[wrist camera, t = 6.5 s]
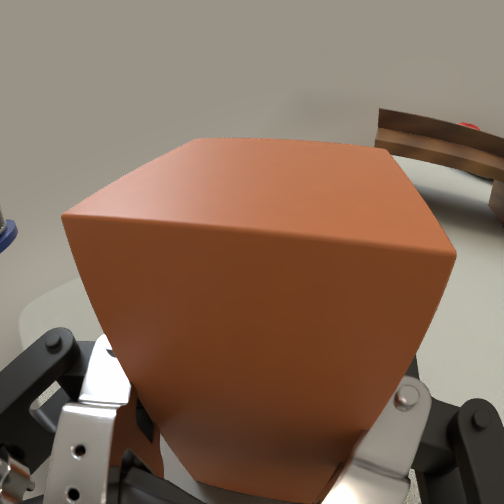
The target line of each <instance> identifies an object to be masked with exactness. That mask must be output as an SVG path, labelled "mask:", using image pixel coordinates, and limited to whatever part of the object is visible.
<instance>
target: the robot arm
mask: <svg viewBox="0 0 504 504" xmlns="http://www.w3.org/2000/svg"><path fill="white" fill-rule="evenodd" d="M6 230H7V224H6V221H5V219H4V217H3V213H2V210H1V207H0V237H1V236H2V235H3V234H4V233H5V231H6ZM55 381H57V382H58V384H59V385H60V386H61V388H60V389H59V390H58V391H57V392H56V393H55V394H53V395H52V396H51V397H50V398H49V399H48V400H47V401H46V402H45V403H44V404H43V405H42V406H41V407H40V408H38V409H36V410H32V409H30V405H31V404H32V402H33V401H34V400H35V399H37V398H38V397H39V396H40V395H41V394H42V393H43V392H44V391H45V390H46V389H47V388H48V387H49V386H50V385H51V384H52V383H54V382H55ZM50 455H51V457H50V462H49V468H48V473H47V479H46V486H45V492H44V494H43V495H40V496H37V497H34V498H31V499H27V500H24V501H22V499H23V495H24V492H25V491H26V490H27V491H33V490H34V488H35V481H34V480H33V478H31V477H30V476H31V475H32V474H33V473H34V472H35V471H36V470H37V469H38V468H39V466H40V465H41V464H42V463H43V462H44V461H45V460H46V459H47V458H48V457H49V456H50ZM410 468H411V469H414V470H415V474H416V479H417V484H418V488H419V493H420V498H421V503H422V504H504V427H503V424H502V422H501V419H500V417H499V415H498V412H497V410H496V409H495V407H494V406H493V405H492V404H491V403H489V402H488V401H486V400H484V399H479V398H474V399H471V400H468V401H467V402H465V403H464V404H463V405H462V406H461V407H458V406H454V405H451V404H448V403H445V402H441V401H439V400H436V399H435V398H433V397H432V396H431V394H430V391H429V390H428V388H427V386H426V385H425V384H424V383H423V382H421V381H420V379H419V373H418V366H417V359H416V354H415V356H414V358H413V360H412V362H411V364H410V366H409V367H408V369H407V371H406V373H405V375H404V376H403V378H402V380H401V382H400V383H399V385H398V387H397V389H396V390H395V392H394V394H393V395H392V397H391V399H390V400H389V402H388V403H387V405H386V407H385V408H384V410H383V411H382V413H381V414H380V416H379V417H378V419H377V420H376V422H375V423H374V425H373V426H372V428H371V429H369V430H364V429H363V430H362V431H361V433H360V434H359V436H358V437H357V439H356V441H355V443H354V444H353V446H352V448H351V450H350V452H349V454H348V456H347V457H346V459H345V461H344V462H340V463H339V464H338V466H337V467H336V469H335V470H334V472H333V474H332V475H331V477H330V478H329V480H328V482H327V483H326V485H325V486H324V488H323V489H322V491H321V492H320V493H319V495H318V496H317V498H316V499H315V500H314V502H313V503H312V504H404V501H405V499H406V497H407V495H408V492H409V489H410V484H411V480H410V479H409V478H408V473H409V470H410ZM0 504H206V503H204V502H202V501H201V500H199V499H197V498H195V497H194V496H192V495H190V494H189V493H187V492H185V491H184V490H182V489H181V488H179V487H177V486H176V485H174V484H173V483H171V482H170V481H168V480H165V479H164V466H163V460H162V456H161V453H160V428H159V427H158V425H157V424H156V422H153V421H152V420H151V418H150V416H149V415H148V413H147V412H146V410H145V408H144V407H143V405H142V403H141V402H140V400H139V398H138V392H137V390H136V388H135V387H134V385H133V383H132V382H131V381H129V380H128V379H127V377H126V375H125V373H124V372H123V370H122V368H121V366H120V364H119V362H118V360H117V358H116V356H115V354H114V352H113V350H112V348H111V346H110V344H109V342H108V340H107V338H106V336H105V334H103V335H102V336H101V337H100V338H99V339H98V340H97V341H96V342H89V341H76V340H75V338H74V336H73V334H72V332H71V331H70V330H68V329H66V328H54V329H52V330H49V331H48V332H46V333H45V334H44V335H42V336H41V337H40V338H39V339H38V340H36V341H35V342H34V343H33V344H32V345H31V346H29V347H28V348H27V349H26V350H25V351H24V352H22V353H21V354H20V355H19V356H18V357H17V358H16V359H14V360H13V361H12V362H11V363H10V364H9V365H8V366H7V367H5V368H4V369H3V370H2V371H1V372H0Z"/></svg>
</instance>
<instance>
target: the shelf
mask: <svg viewBox="0 0 504 504" xmlns="http://www.w3.org/2000/svg"><path fill="white" fill-rule="evenodd" d="M383 128H384V129H383ZM400 131H401V132H400ZM405 132H406V133H405ZM410 133H411V134H410ZM415 134H416V135H415ZM420 135H421V136H420ZM429 137H430V138H429ZM438 139H439V140H438ZM442 140H443V141H442ZM458 144H459V145H458ZM462 145H463V146H462ZM469 147H470V148H469ZM374 148H381V149H386V150H387V151H388V152H389V153H390V155H396V156H401V157H406V158H411V159H416V160H420V161H425V162H430V163H434V164H438V165H442V166H447V167H451V168H455V169H458V170H462V171H466V172H470V173H473V174H477V175H480V176H484V177H487V178H491V179H494V182H493V187H492V191H491V196H490V200H489V204H488V205H489V206H490V208H491V209H492V211H493V212H494V213H495V215H496V216H497V218H498V219H499V221H500V222H501V224H502V225H503V227H504V138H502V137H499V136H496V135H493V134H490V133H487V132H483V131H480V130H477V129H474V128H470V127H467V126H463V125H459V124H455V123H452V122H447V121H443V120H439V119H435V118H430V117H425V116H421V115H416V114H411V113H406V112H401V111H395V110H388V109H383V108H379V119H378V130H377V134H376V138H375V146H374ZM476 149H477V150H476ZM483 151H484V152H483ZM499 156H500V157H499ZM502 157H503V158H502Z"/></svg>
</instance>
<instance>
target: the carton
mask: <svg viewBox="0 0 504 504" xmlns="http://www.w3.org/2000/svg"><path fill="white" fill-rule="evenodd" d="M61 219H62V222H63V226H64V229H65V232H66V236H67V239H68V242H69V245H70V248H71V251H72V254H73V257H74V260H75V263H76V266H77V268H78V271H79V274H80V277H81V279H82V282H83V285H84V287H85V290H86V292H87V295H88V297H89V300H90V302H91V304H92V307H93V309H94V311H95V314H96V316H97V318H98V321H99V323H100V325H101V327H102V329H103V332H104V334H105V336H106V338H107V340H108V342H109V344H110V346H111V348H112V350H113V352H114V354H115V356H116V358H117V360H118V362H119V364H120V366H121V368H122V370H123V372H124V373H125V375H126V377H127V379H128V380H129V381H131V382H132V383H133V385H134V387H135V388H136V390H137V392H138V398H139V400H140V402H141V403H142V405H143V407H144V408H145V410H146V412H147V413H148V415H149V416H150V418H151V420H152V421H153V422H156V424H157V425H158V427H159V428H160V433H161V435H162V436H163V438H164V439H165V441H166V442H167V444H168V445H169V447H170V448H171V449H172V451H173V452H174V454H175V455H176V456H177V458H178V459H179V460H180V462H181V463H182V464H183V466H184V467H185V468H186V470H187V471H188V472H189V474H190V475H191V476H192V478H193V479H194V480H195V481H199V482H202V483H205V484H209V485H212V486H216V487H220V488H223V489H227V490H231V491H236V492H240V493H244V494H249V495H254V496H259V497H264V498H270V499H276V500H282V501H289V502H297V503H305V504H311V503H312V502H313V500H314V499H315V498H316V497H317V496H318V495H319V493H320V492H321V491H322V489H323V488H324V486H325V485H326V483H327V482H328V480H329V478H330V477H331V475H332V474H333V472H334V470H335V469H336V467H337V466H338V464H339V463H340V462H344V461H345V459H346V457H347V456H348V454H349V452H350V450H351V448H352V446H353V444H354V443H355V441H356V439H357V437H358V436H359V434H360V433H361V431H362V430H363V429H364V430H369V429H371V428H372V426H373V425H374V423H375V422H376V420H377V419H378V417H379V416H380V414H381V413H382V411H383V410H384V408H385V407H386V405H387V403H388V402H389V400H390V399H391V397H392V395H393V394H394V392H395V390H396V389H397V387H398V385H399V383H400V382H401V380H402V378H403V376H404V375H405V373H406V371H407V369H408V367H409V366H410V364H411V362H412V360H413V358H414V356H415V354H416V352H417V350H418V348H419V346H420V344H421V342H422V340H423V338H424V336H425V334H426V332H427V330H428V328H429V325H430V323H431V321H432V319H433V317H434V314H435V312H436V310H437V307H438V305H439V303H440V300H441V298H442V295H443V293H444V290H445V288H446V285H447V282H448V280H449V277H450V274H451V272H452V269H453V266H454V263H455V260H456V256H457V255H456V250H455V249H454V247H453V245H452V244H451V242H450V240H449V238H448V237H447V235H446V233H445V232H444V230H443V229H442V227H441V225H440V224H439V222H438V221H437V219H436V217H435V216H434V214H433V213H432V211H431V210H430V208H429V207H428V205H427V204H426V202H425V201H424V199H423V198H422V196H421V195H420V194H419V192H418V191H417V189H416V188H415V186H414V185H413V184H412V182H411V181H410V180H409V178H408V177H407V175H406V174H405V173H404V171H403V170H402V169H401V167H400V166H399V165H398V164H397V162H396V161H395V160H394V158H393V157H392V156H391V155H390V153H389V152H388V151H387V150H386V149H381V148H373V147H366V146H357V145H349V144H340V143H330V142H318V141H304V140H287V139H263V138H197V139H195V140H193V141H191V142H189V143H186V144H184V145H182V146H180V147H178V148H176V149H174V150H172V151H170V152H168V153H166V154H164V155H162V156H160V157H158V158H156V159H154V160H152V161H150V162H149V163H147V164H145V165H143V166H141V167H139V168H137V169H136V170H134V171H132V172H130V173H128V174H127V175H125V176H123V177H121V178H120V179H118V180H116V181H114V182H113V183H111V184H109V185H107V186H106V187H104V188H103V189H101V190H99V191H97V192H96V193H94V194H93V195H91V196H89V197H88V198H86V199H85V200H83V201H81V202H80V203H78V204H77V205H75V206H74V207H72V208H71V209H69V210H68V211H66V212H65V213H63V214H62V216H61Z"/></svg>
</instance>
